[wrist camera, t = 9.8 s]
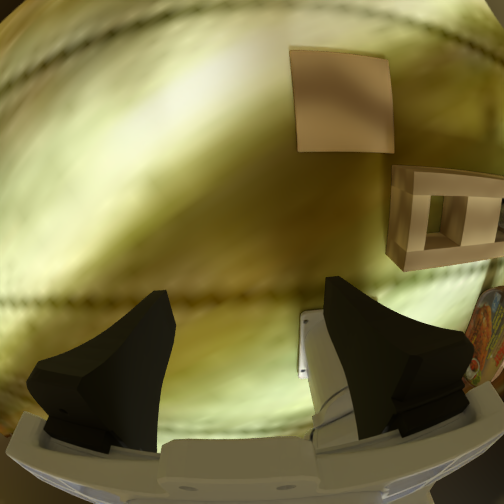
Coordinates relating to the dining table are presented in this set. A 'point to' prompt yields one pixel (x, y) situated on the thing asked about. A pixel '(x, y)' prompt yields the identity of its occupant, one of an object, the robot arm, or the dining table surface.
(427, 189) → the wooden rectangular frame
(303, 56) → the cork coaster
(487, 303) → the tin
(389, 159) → the dining table surface
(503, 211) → the pin
